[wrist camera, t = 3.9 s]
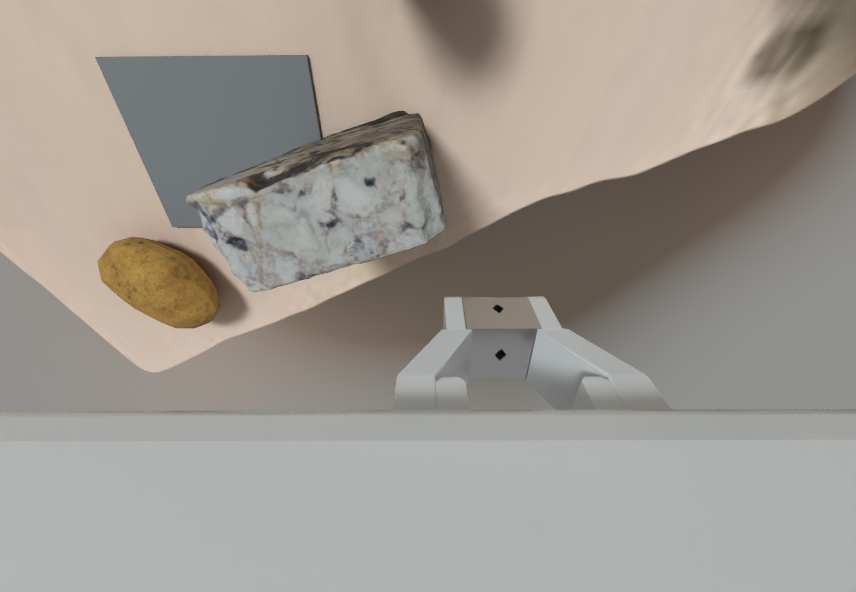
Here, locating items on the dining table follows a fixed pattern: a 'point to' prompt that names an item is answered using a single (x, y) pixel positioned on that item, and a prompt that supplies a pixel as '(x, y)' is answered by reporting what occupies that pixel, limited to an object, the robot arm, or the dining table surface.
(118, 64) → the mat
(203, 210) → the stone block
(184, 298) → the potato
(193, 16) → the dining table surface
